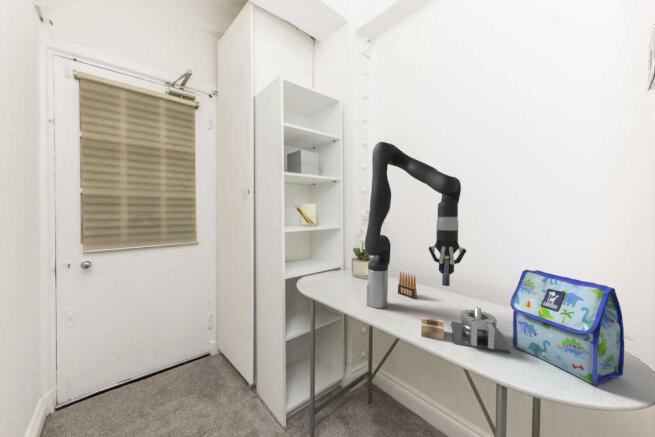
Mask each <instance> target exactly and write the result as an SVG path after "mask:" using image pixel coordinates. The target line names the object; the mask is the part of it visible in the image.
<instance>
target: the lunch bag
mask: <svg viewBox="0 0 655 437" xmlns="http://www.w3.org/2000/svg"><path fill="white" fill-rule="evenodd" d="M509 301H510V302H509V303H510V304H509V305H510V307H511V309H512V310H513V313H512V333H513V334H512V346H513V347H514V348H517V349H519V350H520V351H523V352H526V353H528V354H529V355H532V356H535V357H537V358H539V359H541V360H543V361H546V362H548V363H549V364H551V365H554V366H555V367H558V368H559V369H562V370H563V371H566V372H568V373H570V374H572V375H574V376H575V377H578V378H580V379H581V380H583V381H585V382H587V383H589V384H591V385H594V386H596V387H599V384H601V383H603V382H605V381H606V380H608V379H610V378H619V377H622V376H623V374H624V363H625V362H624V361H625V335H624V334H625V333H624V321H623V319H624V318H623V313H622V312H623V311H622V308H621V305H620V302H619V298H618V295H617V292H616V289H615V288H614V287H611V286H607V285H606V284H605V285H604V284H598V283H596V282H591V281H586V280H585V281H583V280H580V279H576V278H575V279H574V278H571V277H567V276H561V275H558V274H553V273H549V272H545V271H541V270H538V269H537V270H536V269H535V270H531V269H524V270H522V272H521V275H520V278H519V280H518V283H517V285H516V288H515V290H514V291H513V294H512V296H511V298H510V300H509Z"/></svg>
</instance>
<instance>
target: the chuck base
mask: <svg viewBox="0 0 655 437" xmlns="http://www.w3.org/2000/svg"><path fill="white" fill-rule="evenodd" d="M474 309H475V319H481V312H482V308H481V307H474ZM450 326H451V331H452V337H453V338H452V339H453V344H454V345H459V346H465V347H470V348H476V349H481V350H487V351H493V352H497V353H504V354H511V349H510V347H509V346H508V344H507V342H506V340H505V338H504V336H503V335H502V333H501V331H500V330H499V328H496V329H495V331H494V349H490V348H488V347H487V344H486V330H481V329H477V346H473V345H471V343H470V340H469V337H470V327H469V326H467V325H465V324H463V322H458V321H457V322H456V321H450Z"/></svg>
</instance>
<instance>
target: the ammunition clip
mask: <svg viewBox="0 0 655 437" xmlns="http://www.w3.org/2000/svg"><path fill="white" fill-rule="evenodd" d="M398 274H399V276H398V277H399V278H398V285H397V294H398V293H399V294H398V295H401V296H404V297H407V298H409V299H412V300H416V299H417V297H418V296H417V293H418V292H417V281H416V280H417V279H416V276H415V274H414V275H413V274H410V273H408V274H407V273H405V272H402V271H400V272H399V273H398Z"/></svg>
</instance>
